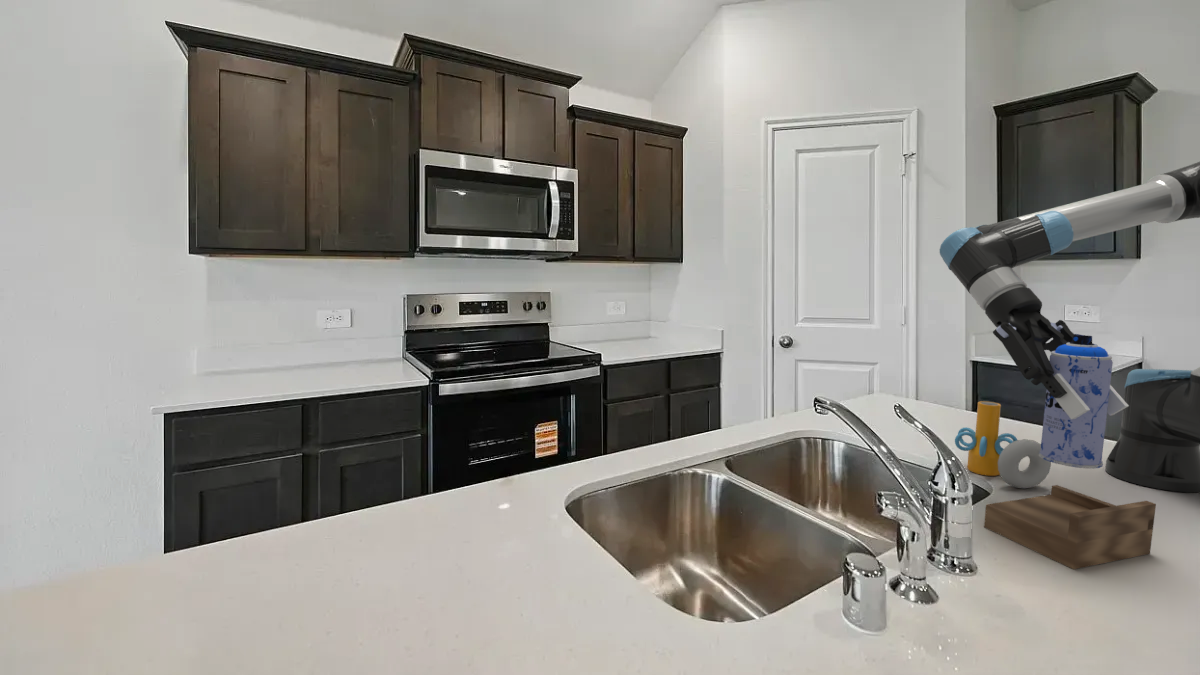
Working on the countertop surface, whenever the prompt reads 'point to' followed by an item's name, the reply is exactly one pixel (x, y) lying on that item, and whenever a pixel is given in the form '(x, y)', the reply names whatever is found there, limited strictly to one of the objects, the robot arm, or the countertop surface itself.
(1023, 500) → the shelf step
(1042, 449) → the aerosol can
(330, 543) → the countertop surface
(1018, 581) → the countertop surface
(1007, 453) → the donut
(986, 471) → the cylinder
